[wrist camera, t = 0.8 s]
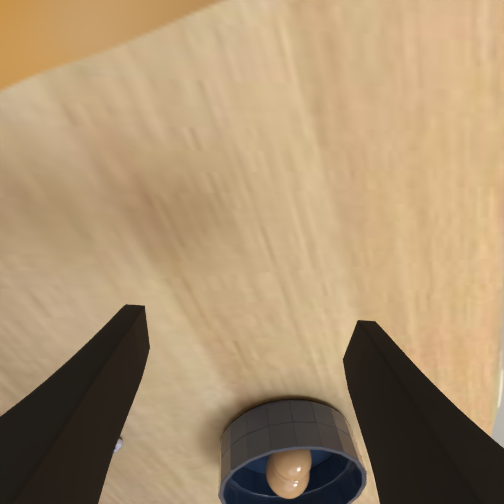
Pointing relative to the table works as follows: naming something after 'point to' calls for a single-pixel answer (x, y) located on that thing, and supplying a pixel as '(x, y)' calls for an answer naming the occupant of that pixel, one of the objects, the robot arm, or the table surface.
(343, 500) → the basin
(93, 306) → the table surface
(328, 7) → the table surface
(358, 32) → the table surface
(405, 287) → the table surface
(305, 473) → the tan double sphere
